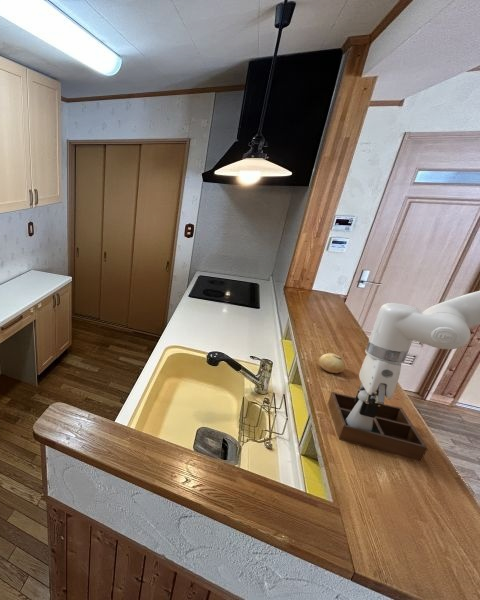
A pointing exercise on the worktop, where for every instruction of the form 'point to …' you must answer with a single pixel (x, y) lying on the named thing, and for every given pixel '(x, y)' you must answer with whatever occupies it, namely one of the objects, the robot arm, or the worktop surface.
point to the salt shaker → (357, 419)
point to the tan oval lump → (331, 363)
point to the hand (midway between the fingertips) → (364, 409)
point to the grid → (378, 429)
